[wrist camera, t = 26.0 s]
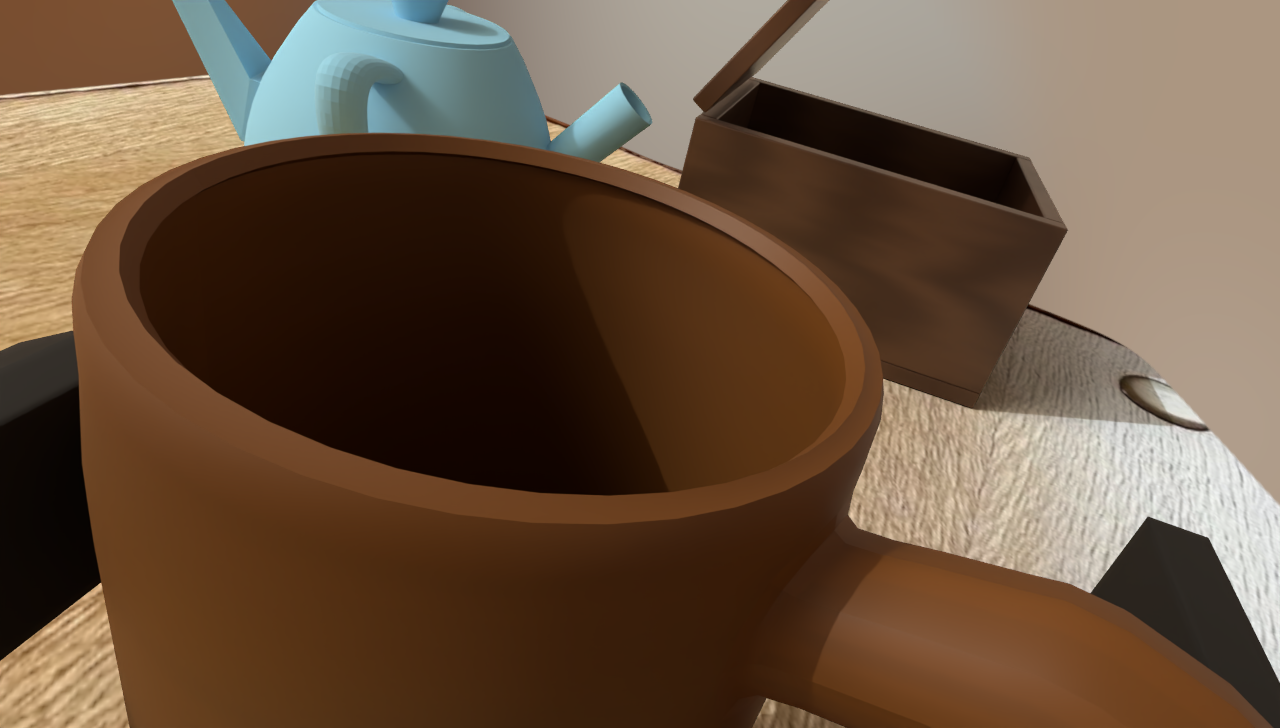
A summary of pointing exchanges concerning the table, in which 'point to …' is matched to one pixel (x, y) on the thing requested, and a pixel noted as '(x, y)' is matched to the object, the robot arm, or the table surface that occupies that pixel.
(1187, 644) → the robot arm
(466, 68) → the teapot
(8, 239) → the table surface
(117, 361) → the mug
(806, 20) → the lid
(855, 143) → the chest
